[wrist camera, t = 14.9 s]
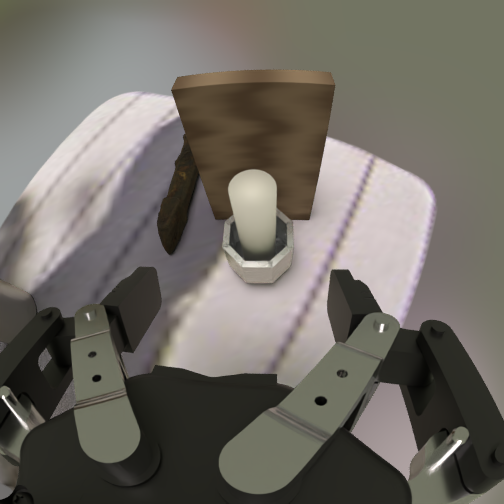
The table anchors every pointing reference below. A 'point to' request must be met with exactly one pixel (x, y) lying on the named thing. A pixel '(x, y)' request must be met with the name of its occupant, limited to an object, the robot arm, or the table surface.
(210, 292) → the table surface
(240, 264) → the metal cup
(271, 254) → the cream white cylinder
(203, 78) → the wooden bookend
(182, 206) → the hand tool
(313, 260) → the table surface
